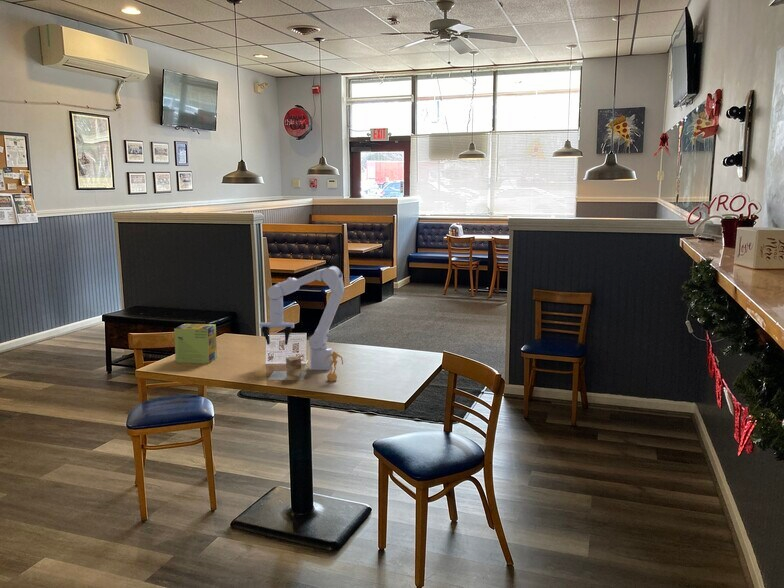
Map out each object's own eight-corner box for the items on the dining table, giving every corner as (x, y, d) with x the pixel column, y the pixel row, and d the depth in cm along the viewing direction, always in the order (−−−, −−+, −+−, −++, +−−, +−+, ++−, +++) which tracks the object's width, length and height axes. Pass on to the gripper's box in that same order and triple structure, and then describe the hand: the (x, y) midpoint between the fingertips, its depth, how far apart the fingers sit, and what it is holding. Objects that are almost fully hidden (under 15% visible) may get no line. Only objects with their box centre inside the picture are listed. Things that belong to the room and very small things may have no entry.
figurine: (320, 381, 243) (320, 352, 241) (327, 377, 248) (327, 349, 246) (339, 384, 240) (339, 354, 238) (346, 380, 245) (345, 351, 244)
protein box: (209, 363, 268) (208, 329, 265) (175, 363, 269) (173, 328, 266) (217, 357, 278) (216, 324, 276) (184, 356, 279) (183, 323, 276)
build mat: (307, 372, 255) (307, 371, 255) (302, 381, 243) (302, 380, 243) (273, 372, 255) (273, 371, 255) (267, 381, 243) (267, 379, 243)
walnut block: (296, 365, 249) (296, 356, 248) (301, 368, 245) (301, 358, 244) (286, 367, 246) (286, 357, 246) (290, 370, 243) (290, 360, 242)
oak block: (301, 375, 249) (301, 366, 248) (299, 379, 244) (299, 369, 243) (288, 375, 249) (288, 366, 248) (286, 379, 244) (286, 369, 243)
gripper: (295, 311, 264) (295, 341, 266) (261, 311, 264) (262, 341, 267) (292, 314, 257) (293, 345, 259) (257, 314, 257) (258, 345, 260)
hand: (277, 344), depth 263 cm, fingers open, 7 cm apart
